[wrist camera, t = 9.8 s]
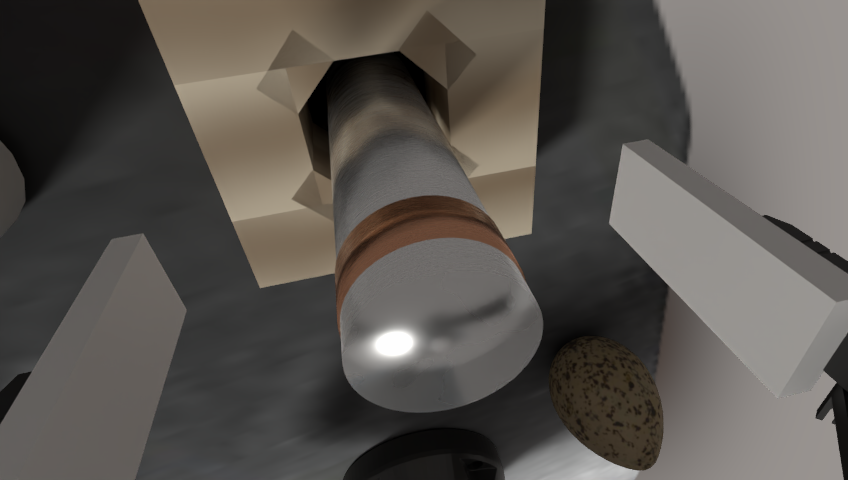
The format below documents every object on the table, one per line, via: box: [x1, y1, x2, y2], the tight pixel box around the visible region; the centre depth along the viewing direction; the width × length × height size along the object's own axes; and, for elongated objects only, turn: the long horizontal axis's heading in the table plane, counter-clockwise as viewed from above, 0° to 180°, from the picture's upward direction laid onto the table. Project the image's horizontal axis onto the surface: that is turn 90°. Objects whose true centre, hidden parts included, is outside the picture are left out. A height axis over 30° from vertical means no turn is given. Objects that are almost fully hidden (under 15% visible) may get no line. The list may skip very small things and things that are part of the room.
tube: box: [326, 52, 543, 413], centre depth 15 cm, size 4×4×16 cm
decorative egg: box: [549, 336, 663, 470], centre depth 33 cm, size 7×7×10 cm
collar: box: [138, 0, 546, 288], centre depth 20 cm, size 13×13×5 cm
